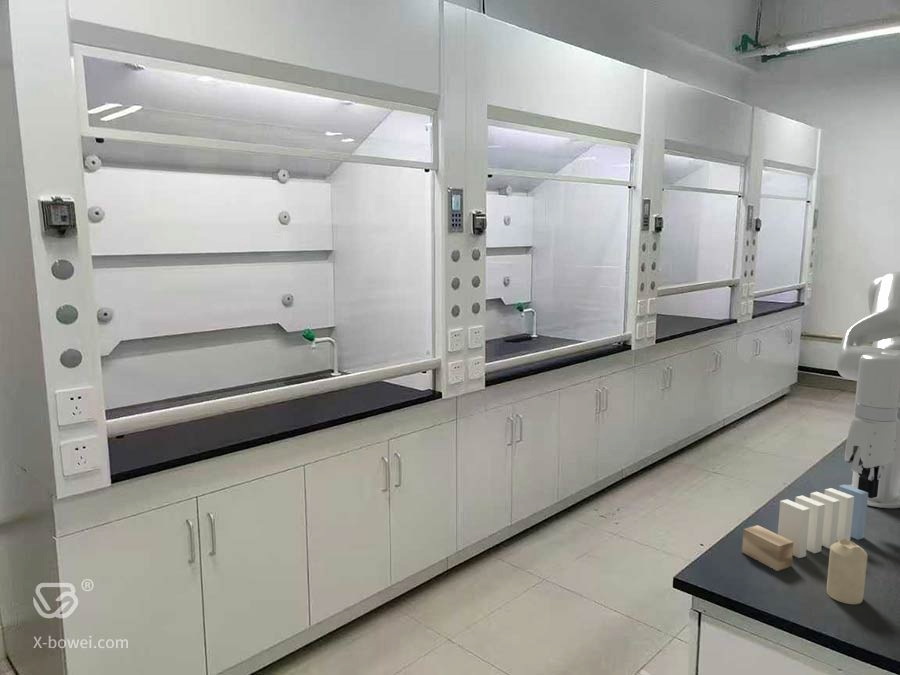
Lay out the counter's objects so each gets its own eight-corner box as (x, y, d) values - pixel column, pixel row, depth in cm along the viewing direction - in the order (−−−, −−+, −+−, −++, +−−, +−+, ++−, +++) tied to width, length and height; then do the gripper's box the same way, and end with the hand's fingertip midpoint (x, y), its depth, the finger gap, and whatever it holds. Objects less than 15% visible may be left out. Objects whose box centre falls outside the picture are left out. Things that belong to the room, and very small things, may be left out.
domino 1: (783, 545, 130) (787, 499, 128) (805, 556, 125) (809, 508, 124) (776, 547, 129) (780, 500, 128) (799, 558, 125) (803, 510, 123)
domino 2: (798, 540, 132) (802, 495, 130) (821, 551, 127) (825, 504, 126) (791, 542, 131) (795, 496, 129) (814, 553, 127) (818, 506, 125)
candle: (870, 601, 110) (876, 547, 108) (845, 607, 108) (851, 552, 107) (842, 585, 115) (847, 533, 113) (818, 590, 113) (823, 538, 112)
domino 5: (840, 528, 137) (844, 484, 136) (863, 537, 133) (868, 492, 131) (834, 529, 137) (838, 485, 135) (857, 539, 132) (862, 494, 131)
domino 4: (826, 532, 136) (830, 487, 134) (849, 542, 131) (854, 496, 130) (820, 534, 135) (824, 489, 133) (843, 544, 130) (848, 498, 129)
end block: (756, 548, 129) (757, 525, 128) (791, 566, 122) (793, 541, 121) (741, 552, 127) (743, 528, 126) (777, 570, 120) (778, 546, 119)
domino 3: (812, 536, 134) (816, 491, 132) (835, 546, 129) (840, 500, 128) (806, 538, 133) (810, 493, 131) (829, 548, 128) (833, 502, 127)
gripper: (879, 404, 139) (871, 483, 142) (834, 412, 133) (827, 495, 136) (916, 412, 132) (907, 495, 135) (871, 421, 126) (862, 508, 129)
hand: (867, 495), depth 136 cm, fingers closed
